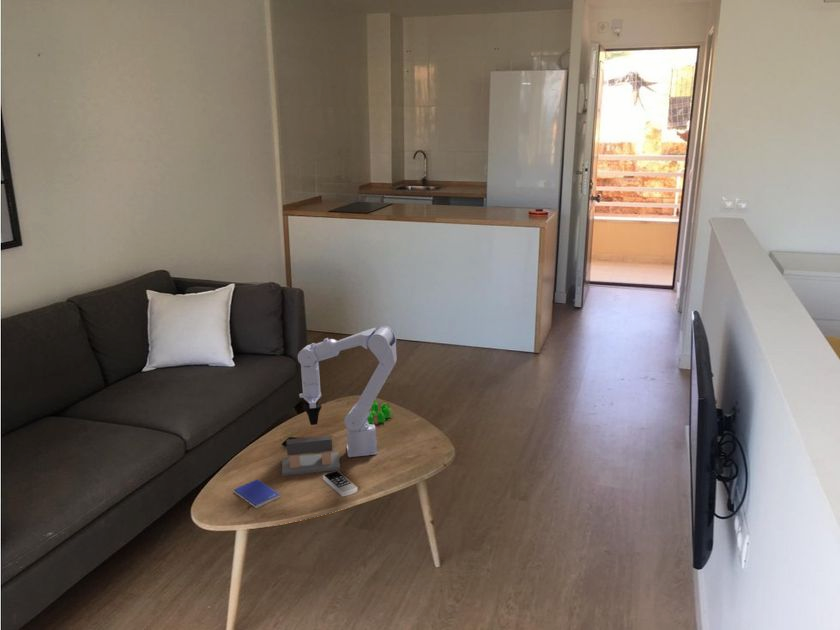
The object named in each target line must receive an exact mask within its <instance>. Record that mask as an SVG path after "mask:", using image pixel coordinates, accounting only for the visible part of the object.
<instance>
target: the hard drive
mask: <svg viewBox="0 0 840 630" xmlns="http://www.w3.org/2000/svg"><path fill="white" fill-rule="evenodd" d="M233 491H234V494H236V496H237V495H238V497H240V498H242V499H243V500H244V499H245V500H244V501H246V502H247V503H248V502H249V504H250V505H252V507H254V508H256V509H257V508H259V507H261V506H264V505H266V504H268V503H270V502H273V501H275V500H277V499H279V498H281V493H279V492H277V491H276V490H274V489H273V488H271V487H270V486H269V485H267V484H265V483H264V482H262V481H261V480H259V479H254V480H253V481H250V482H248V483H246V484H243V485H242V486H239V487H237V488H235V489H234V490H233Z"/></svg>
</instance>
